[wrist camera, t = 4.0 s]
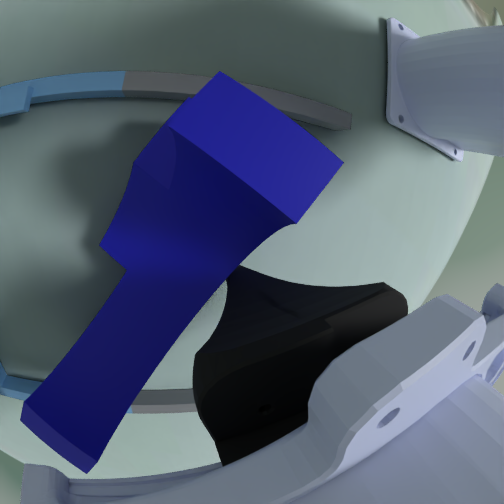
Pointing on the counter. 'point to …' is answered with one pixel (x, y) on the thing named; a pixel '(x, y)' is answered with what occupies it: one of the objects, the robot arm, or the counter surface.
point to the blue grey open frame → (146, 86)
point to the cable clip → (177, 251)
